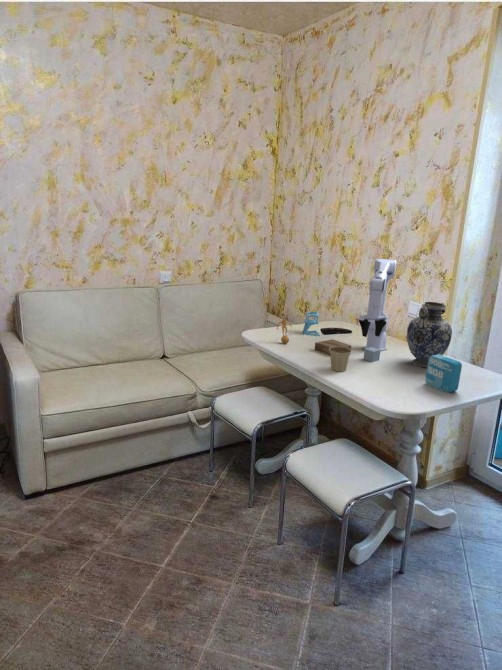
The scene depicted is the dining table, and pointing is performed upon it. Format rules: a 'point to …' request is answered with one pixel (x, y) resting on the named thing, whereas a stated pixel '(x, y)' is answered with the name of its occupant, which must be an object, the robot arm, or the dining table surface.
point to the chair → (310, 323)
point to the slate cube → (372, 354)
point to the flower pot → (339, 358)
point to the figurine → (285, 338)
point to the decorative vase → (428, 333)
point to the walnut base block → (329, 345)
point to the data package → (443, 373)
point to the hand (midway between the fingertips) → (370, 336)
